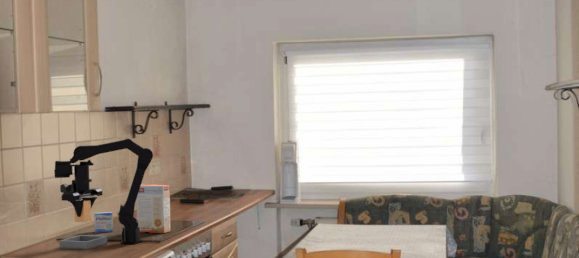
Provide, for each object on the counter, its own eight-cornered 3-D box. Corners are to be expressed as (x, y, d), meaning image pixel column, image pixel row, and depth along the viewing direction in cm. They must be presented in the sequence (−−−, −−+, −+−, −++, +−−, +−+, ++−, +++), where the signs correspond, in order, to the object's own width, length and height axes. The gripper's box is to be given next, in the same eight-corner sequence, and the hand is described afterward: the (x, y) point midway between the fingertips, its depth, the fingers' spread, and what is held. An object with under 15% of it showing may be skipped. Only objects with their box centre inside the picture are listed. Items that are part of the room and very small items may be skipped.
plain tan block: (91, 220, 286) (90, 200, 286) (84, 222, 282) (83, 202, 281) (82, 219, 287) (81, 200, 287) (74, 221, 283) (74, 201, 283)
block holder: (107, 243, 288) (107, 236, 288) (87, 249, 276) (86, 242, 276) (80, 242, 293) (80, 234, 293) (59, 248, 281) (59, 240, 281)
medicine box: (94, 233, 315) (94, 213, 314) (94, 231, 319) (94, 212, 319) (113, 231, 317) (112, 212, 317) (112, 230, 321) (112, 211, 321)
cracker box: (171, 231, 314) (170, 184, 314) (164, 233, 309) (162, 185, 308) (144, 230, 320) (143, 183, 319) (136, 232, 314) (135, 185, 313)
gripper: (80, 174, 296) (81, 212, 296) (49, 179, 278) (50, 218, 279) (102, 175, 291) (103, 212, 292) (72, 179, 274) (74, 219, 275)
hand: (83, 215), depth 284 cm, fingers closed on plain tan block, 4 cm apart
